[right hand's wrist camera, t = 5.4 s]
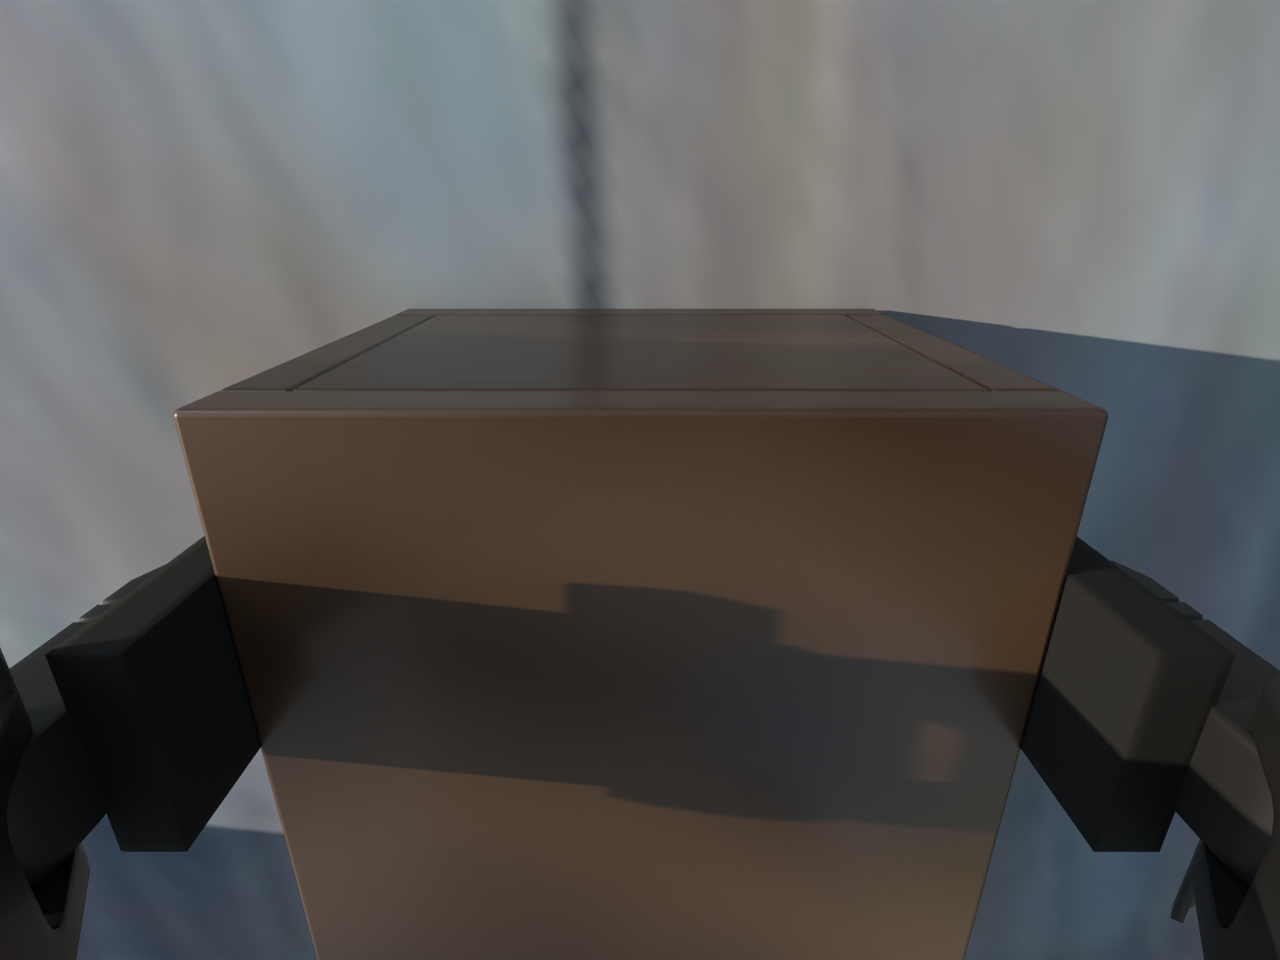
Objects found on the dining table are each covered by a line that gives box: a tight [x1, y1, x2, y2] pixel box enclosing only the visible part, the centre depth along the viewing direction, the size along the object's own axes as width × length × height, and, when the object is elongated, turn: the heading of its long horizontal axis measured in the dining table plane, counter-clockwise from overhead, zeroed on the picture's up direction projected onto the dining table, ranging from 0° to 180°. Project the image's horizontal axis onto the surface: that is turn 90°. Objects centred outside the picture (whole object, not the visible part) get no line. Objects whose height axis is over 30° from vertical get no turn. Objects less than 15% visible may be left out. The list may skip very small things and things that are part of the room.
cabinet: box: [173, 309, 1108, 960], centre depth 15 cm, size 21×10×8 cm, turn 0°
